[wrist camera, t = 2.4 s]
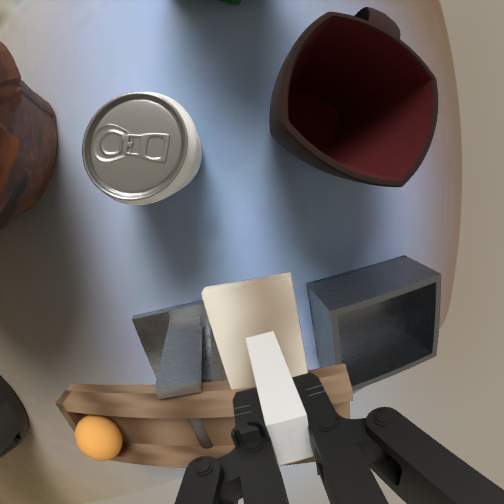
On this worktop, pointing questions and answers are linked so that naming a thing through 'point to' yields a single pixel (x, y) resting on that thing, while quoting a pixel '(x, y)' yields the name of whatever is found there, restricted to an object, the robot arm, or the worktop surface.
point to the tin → (376, 319)
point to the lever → (213, 393)
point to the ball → (98, 437)
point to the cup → (355, 100)
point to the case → (22, 142)
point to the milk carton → (232, 1)
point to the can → (141, 148)
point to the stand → (180, 348)
